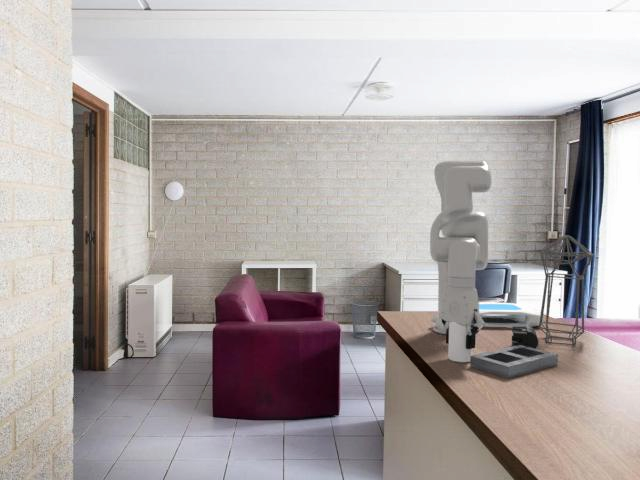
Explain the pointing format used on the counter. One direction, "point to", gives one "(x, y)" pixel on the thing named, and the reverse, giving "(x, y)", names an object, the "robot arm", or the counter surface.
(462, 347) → the can
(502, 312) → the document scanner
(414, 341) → the counter surface
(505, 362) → the grey windowed frame
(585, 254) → the geometric lantern
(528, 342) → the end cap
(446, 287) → the robot arm
